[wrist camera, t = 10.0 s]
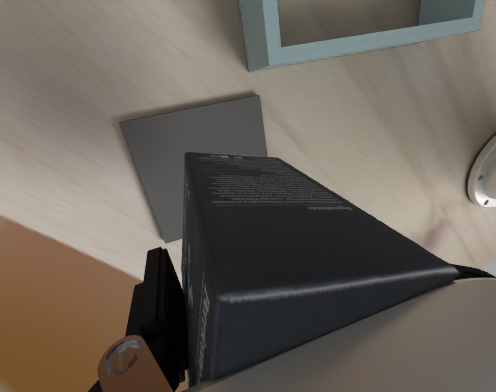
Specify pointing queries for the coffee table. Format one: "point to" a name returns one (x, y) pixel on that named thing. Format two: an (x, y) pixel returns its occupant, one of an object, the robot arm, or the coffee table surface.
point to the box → (282, 262)
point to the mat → (185, 140)
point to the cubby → (273, 55)
